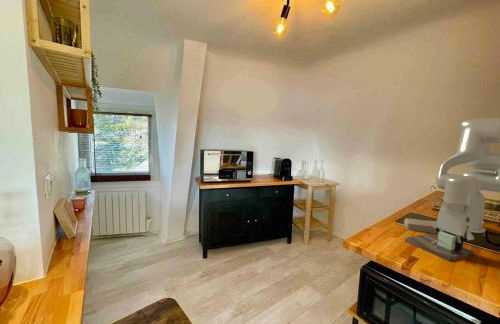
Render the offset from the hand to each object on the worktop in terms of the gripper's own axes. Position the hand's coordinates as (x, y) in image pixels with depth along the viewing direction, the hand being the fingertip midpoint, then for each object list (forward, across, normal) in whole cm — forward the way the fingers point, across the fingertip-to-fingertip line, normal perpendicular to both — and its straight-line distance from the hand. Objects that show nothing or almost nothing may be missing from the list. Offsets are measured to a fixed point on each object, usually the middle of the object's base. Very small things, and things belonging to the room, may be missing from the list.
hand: (449, 247), depth 96 cm
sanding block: (+1, 0, 0) cm, 1 cm away
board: (+3, +5, 0) cm, 5 cm away
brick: (+3, +20, -15) cm, 25 cm away
